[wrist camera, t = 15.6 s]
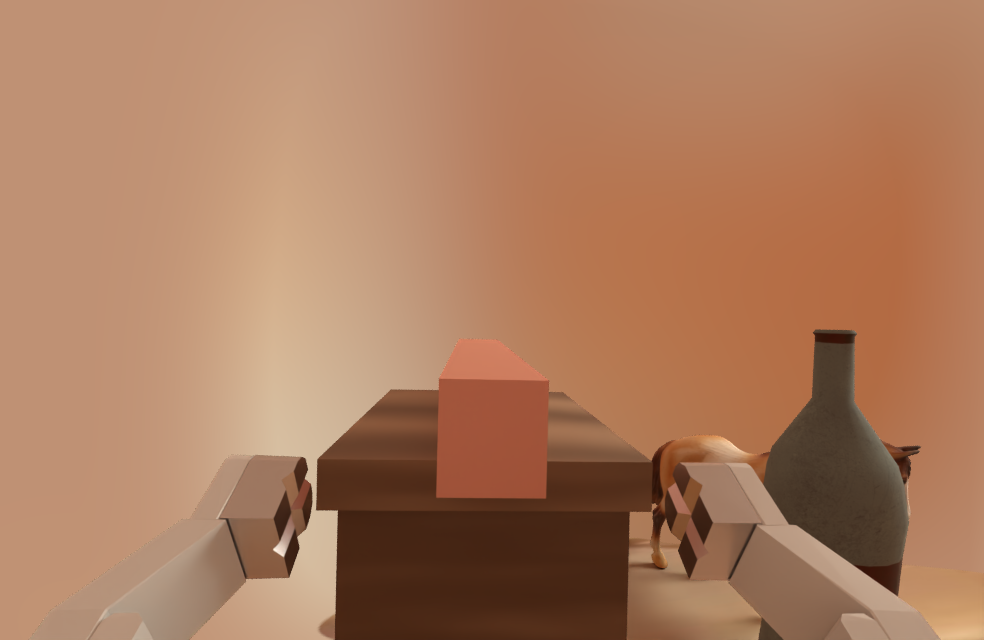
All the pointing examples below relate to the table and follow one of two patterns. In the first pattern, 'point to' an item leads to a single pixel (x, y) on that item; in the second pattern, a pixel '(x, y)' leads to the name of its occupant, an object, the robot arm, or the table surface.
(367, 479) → the stand
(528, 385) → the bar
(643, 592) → the table surface
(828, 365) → the bottle
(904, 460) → the horse figurine
